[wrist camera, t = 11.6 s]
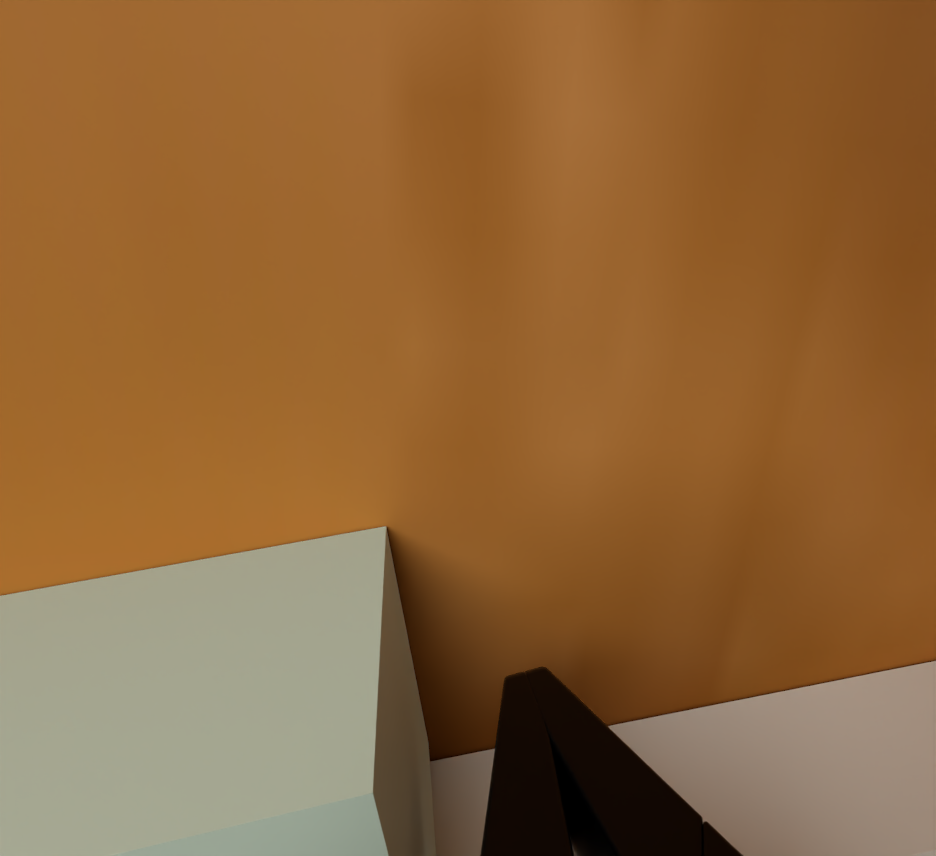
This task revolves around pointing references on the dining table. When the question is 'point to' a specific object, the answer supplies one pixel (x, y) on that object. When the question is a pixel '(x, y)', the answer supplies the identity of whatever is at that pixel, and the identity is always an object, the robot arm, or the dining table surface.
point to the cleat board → (770, 769)
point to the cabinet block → (216, 710)
